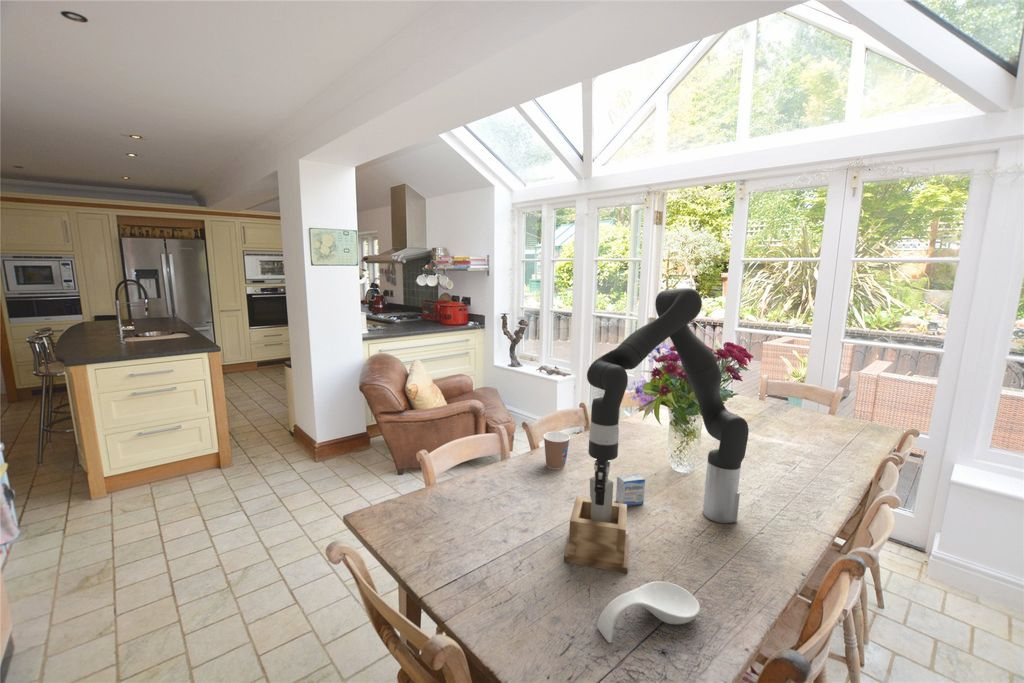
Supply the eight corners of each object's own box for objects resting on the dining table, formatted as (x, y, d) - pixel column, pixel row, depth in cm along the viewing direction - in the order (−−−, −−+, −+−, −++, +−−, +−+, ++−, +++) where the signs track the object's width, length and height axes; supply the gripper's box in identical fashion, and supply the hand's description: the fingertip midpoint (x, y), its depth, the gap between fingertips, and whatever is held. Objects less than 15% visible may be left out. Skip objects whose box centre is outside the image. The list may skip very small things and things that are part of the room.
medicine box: (622, 507, 144) (623, 482, 143) (615, 500, 148) (616, 475, 147) (643, 504, 146) (645, 479, 145) (636, 497, 150) (638, 473, 149)
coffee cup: (567, 473, 167) (569, 442, 166) (540, 470, 169) (541, 439, 168) (569, 461, 177) (571, 432, 175) (544, 459, 179) (545, 430, 177)
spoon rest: (671, 589, 107) (673, 562, 106) (710, 624, 97) (713, 594, 96) (587, 618, 98) (588, 588, 97) (620, 660, 87) (622, 628, 86)
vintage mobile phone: (595, 531, 124) (600, 445, 120) (610, 539, 120) (615, 451, 116) (586, 536, 122) (591, 448, 118) (601, 545, 118) (606, 455, 114)
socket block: (628, 539, 127) (630, 503, 125) (627, 573, 112) (629, 532, 111) (571, 529, 131) (573, 494, 129) (563, 561, 116) (565, 522, 115)
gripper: (617, 450, 109) (613, 514, 111) (619, 430, 122) (616, 488, 125) (586, 446, 111) (583, 510, 113) (591, 427, 124) (589, 484, 127)
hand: (600, 498), depth 119 cm, fingers closed on vintage mobile phone, 5 cm apart
